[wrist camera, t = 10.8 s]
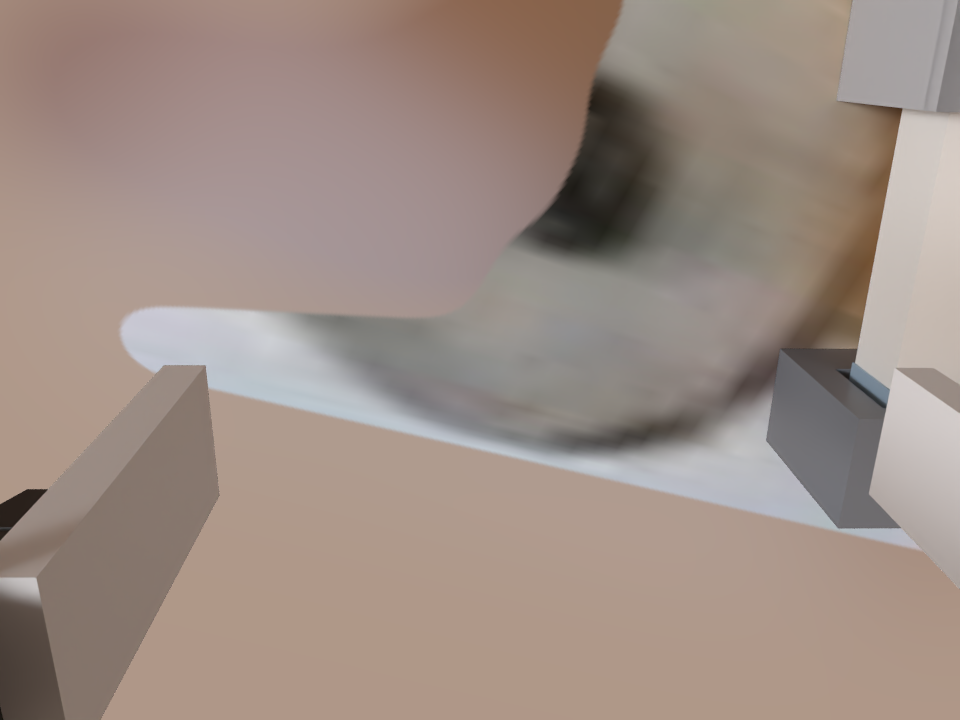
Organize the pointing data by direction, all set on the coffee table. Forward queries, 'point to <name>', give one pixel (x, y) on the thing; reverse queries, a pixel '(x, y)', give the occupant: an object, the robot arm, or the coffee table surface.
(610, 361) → the coffee table surface
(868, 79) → the sleeve
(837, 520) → the socket fitting
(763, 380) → the coffee table surface
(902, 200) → the tube
